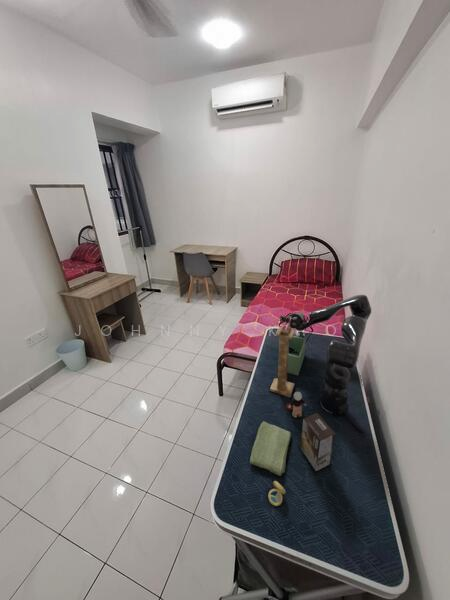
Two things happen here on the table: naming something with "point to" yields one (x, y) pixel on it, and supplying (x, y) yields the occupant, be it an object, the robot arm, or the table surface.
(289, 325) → the straw
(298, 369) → the bin
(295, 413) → the grandmother figurine
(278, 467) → the washcloth
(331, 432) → the coffee box
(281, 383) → the straw stand
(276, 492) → the eyeshadow
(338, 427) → the table surface
